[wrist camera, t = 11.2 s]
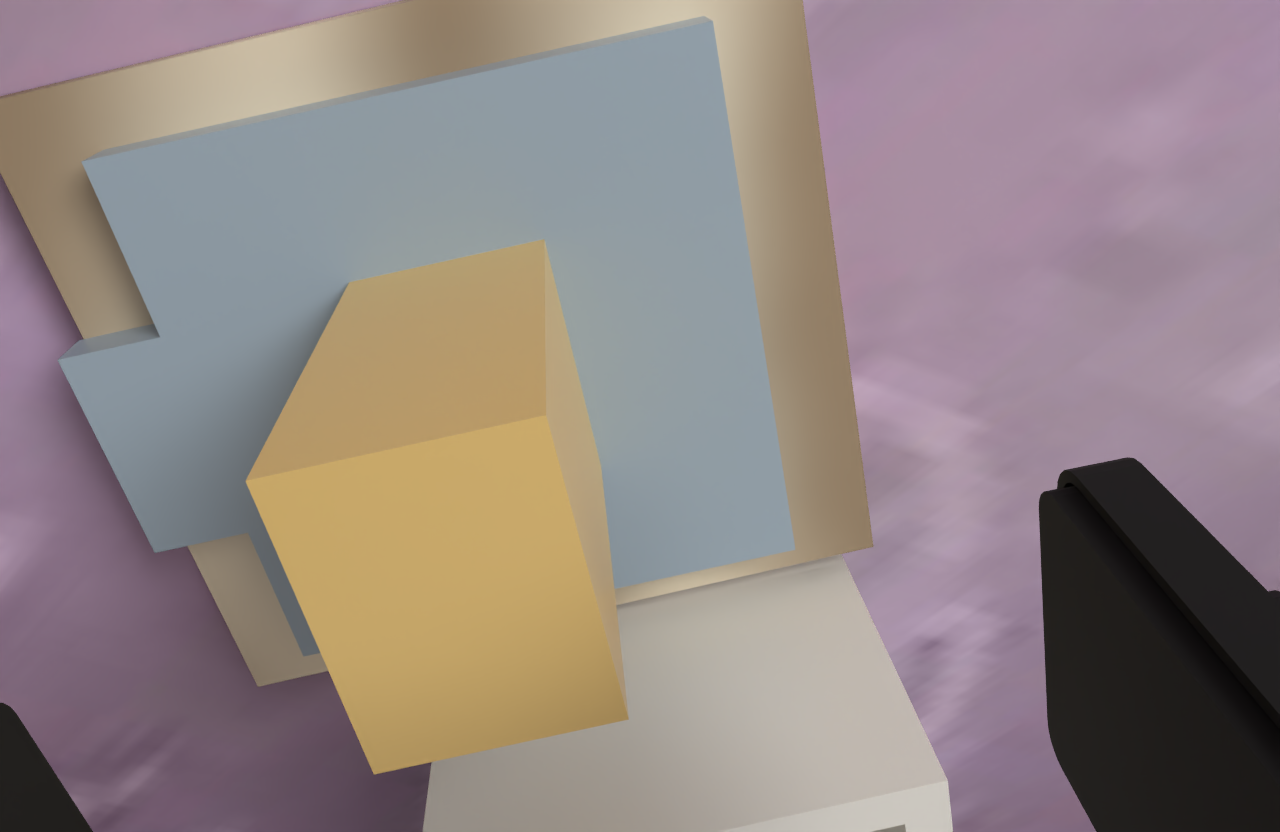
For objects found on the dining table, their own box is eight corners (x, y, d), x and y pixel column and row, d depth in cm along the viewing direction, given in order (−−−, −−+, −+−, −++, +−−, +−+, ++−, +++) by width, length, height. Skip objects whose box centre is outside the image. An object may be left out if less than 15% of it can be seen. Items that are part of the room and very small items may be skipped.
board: (778, -90, 15) (790, -90, 14) (861, 524, 20) (873, 546, 19) (-6, 97, 15) (-34, 106, 14) (267, 659, 20) (257, 686, 19)
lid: (704, 16, 15) (818, 86, 9) (785, 525, 19) (902, 816, 13) (-3, 173, 15) (-377, 351, 9) (228, 646, 19) (81, 992, 13)
